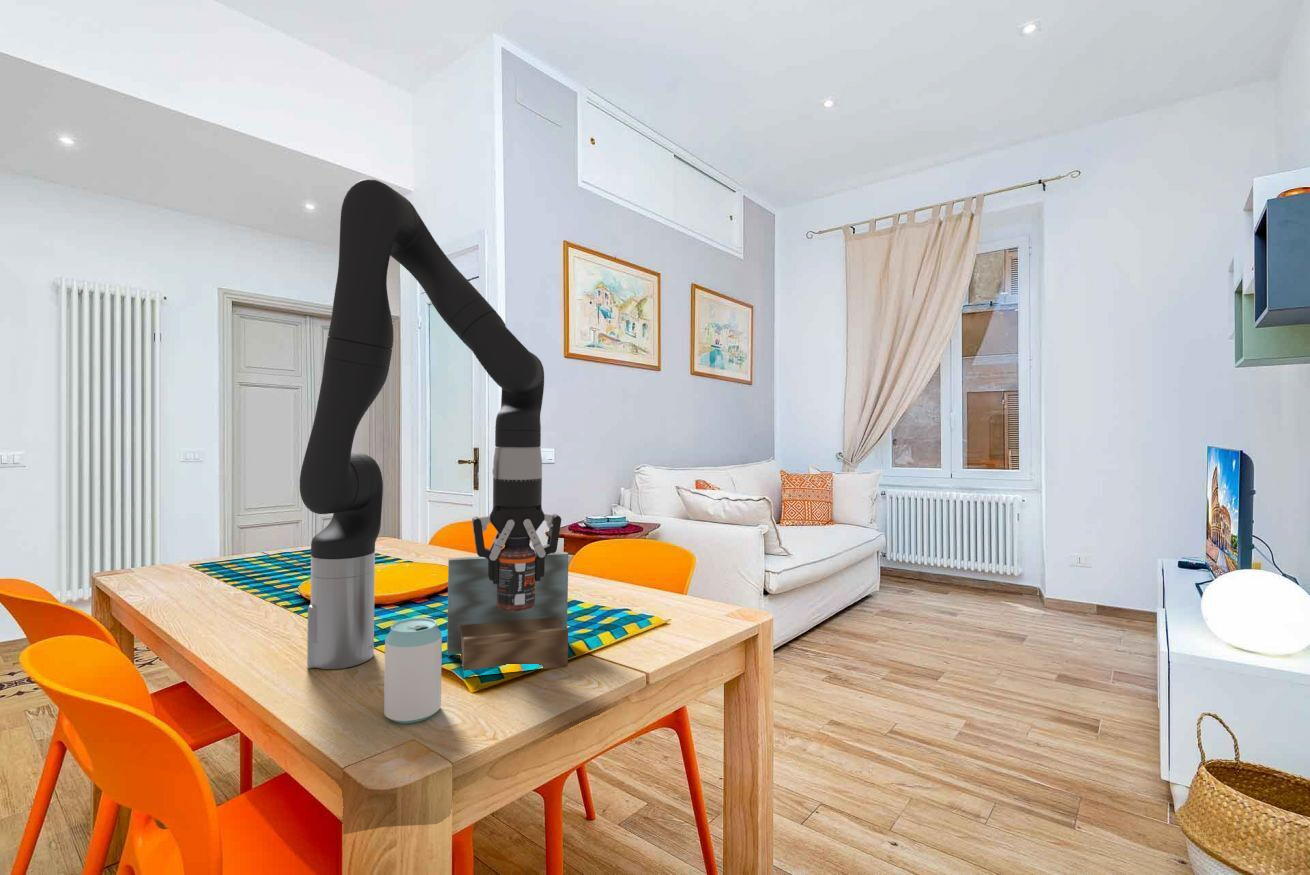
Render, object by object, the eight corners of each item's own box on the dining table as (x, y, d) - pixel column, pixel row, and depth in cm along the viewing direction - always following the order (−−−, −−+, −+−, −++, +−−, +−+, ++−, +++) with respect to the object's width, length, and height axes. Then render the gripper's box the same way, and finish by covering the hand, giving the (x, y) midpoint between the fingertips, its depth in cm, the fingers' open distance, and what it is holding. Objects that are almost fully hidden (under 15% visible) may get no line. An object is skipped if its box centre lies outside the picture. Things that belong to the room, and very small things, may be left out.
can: (445, 700, 87) (447, 615, 86) (434, 725, 80) (435, 632, 79) (393, 702, 86) (394, 616, 85) (376, 727, 79) (377, 633, 78)
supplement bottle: (530, 613, 95) (531, 539, 95) (492, 612, 95) (492, 538, 95) (538, 601, 101) (539, 532, 101) (502, 601, 101) (503, 532, 101)
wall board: (449, 680, 93) (451, 574, 93) (447, 653, 104) (448, 558, 103) (579, 664, 100) (581, 566, 100) (564, 641, 111) (566, 552, 110)
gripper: (471, 478, 92) (470, 591, 92) (567, 476, 97) (566, 583, 97) (468, 474, 99) (467, 579, 99) (558, 473, 104) (557, 572, 104)
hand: (516, 581), depth 98 cm, fingers closed on supplement bottle, 6 cm apart
